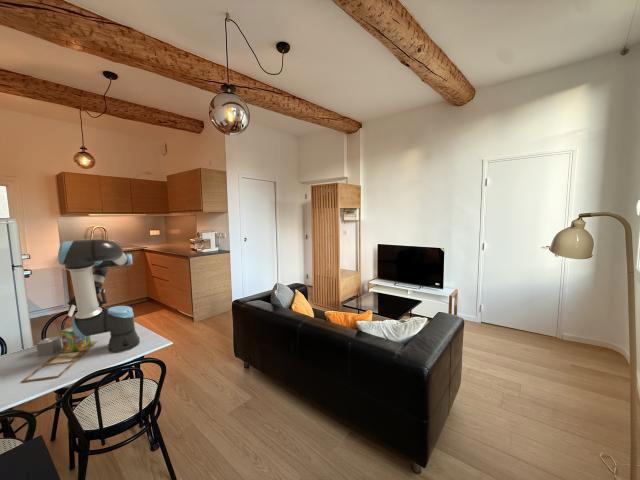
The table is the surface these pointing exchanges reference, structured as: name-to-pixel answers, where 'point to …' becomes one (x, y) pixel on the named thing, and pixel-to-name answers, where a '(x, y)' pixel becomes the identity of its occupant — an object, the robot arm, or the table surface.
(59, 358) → the board
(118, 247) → the robot arm
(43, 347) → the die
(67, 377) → the table surface
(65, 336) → the chalk box
